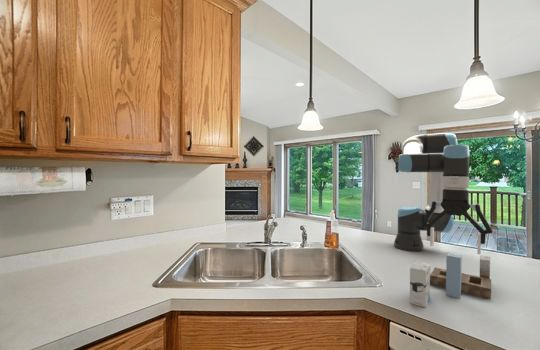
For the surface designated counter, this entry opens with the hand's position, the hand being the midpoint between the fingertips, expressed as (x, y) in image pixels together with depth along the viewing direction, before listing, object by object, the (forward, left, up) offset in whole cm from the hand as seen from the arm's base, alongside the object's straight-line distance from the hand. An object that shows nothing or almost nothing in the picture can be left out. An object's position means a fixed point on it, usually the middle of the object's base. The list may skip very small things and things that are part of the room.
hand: (454, 249), depth 92 cm
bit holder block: (+1, +10, -16) cm, 19 cm away
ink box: (-8, -13, -16) cm, 22 cm away
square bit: (0, 0, -16) cm, 16 cm away
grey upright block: (+8, +20, -16) cm, 27 cm away
